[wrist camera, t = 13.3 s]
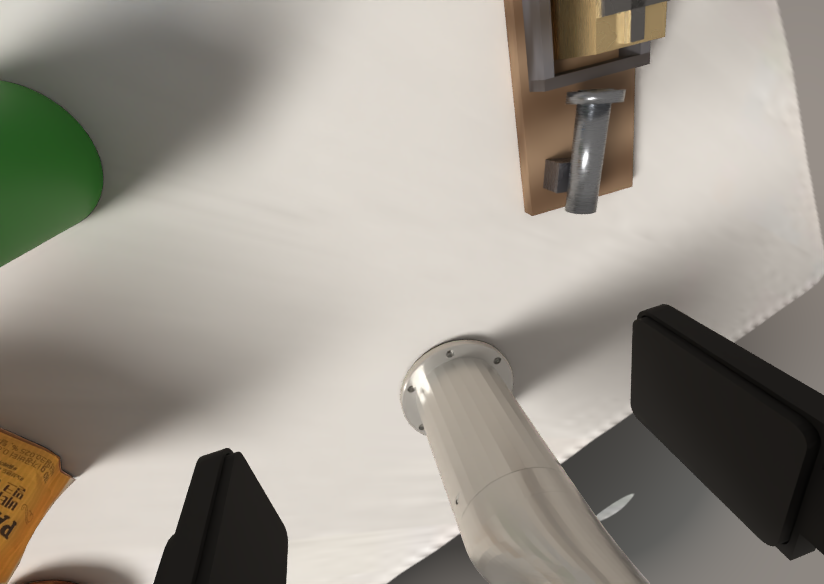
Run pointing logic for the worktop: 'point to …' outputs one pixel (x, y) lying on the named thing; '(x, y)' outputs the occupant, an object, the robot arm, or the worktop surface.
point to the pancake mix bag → (24, 495)
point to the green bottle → (42, 171)
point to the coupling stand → (546, 102)
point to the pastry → (51, 582)
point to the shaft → (583, 150)
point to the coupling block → (604, 25)
